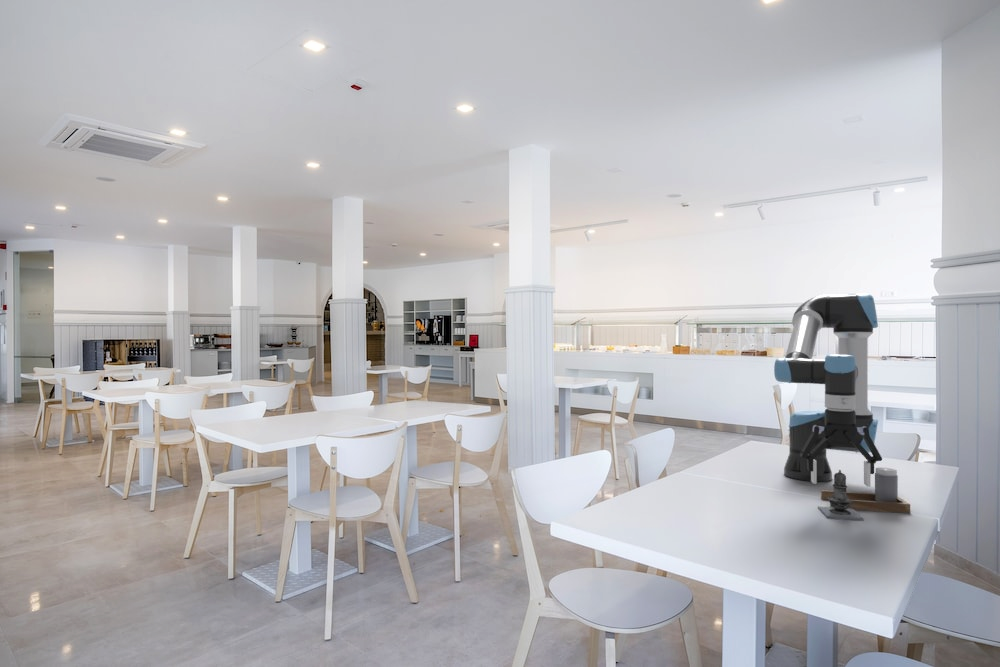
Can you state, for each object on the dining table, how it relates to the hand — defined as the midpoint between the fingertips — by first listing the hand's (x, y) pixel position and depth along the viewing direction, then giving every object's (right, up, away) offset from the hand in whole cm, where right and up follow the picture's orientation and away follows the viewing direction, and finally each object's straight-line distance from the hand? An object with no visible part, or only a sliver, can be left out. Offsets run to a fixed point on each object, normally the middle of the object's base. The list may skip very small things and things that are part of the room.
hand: (840, 484), depth 163 cm
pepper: (+17, -8, +7) cm, 20 cm away
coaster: (0, -8, 0) cm, 8 cm away
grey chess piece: (0, -8, 0) cm, 8 cm away
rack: (+11, -8, +8) cm, 16 cm away
